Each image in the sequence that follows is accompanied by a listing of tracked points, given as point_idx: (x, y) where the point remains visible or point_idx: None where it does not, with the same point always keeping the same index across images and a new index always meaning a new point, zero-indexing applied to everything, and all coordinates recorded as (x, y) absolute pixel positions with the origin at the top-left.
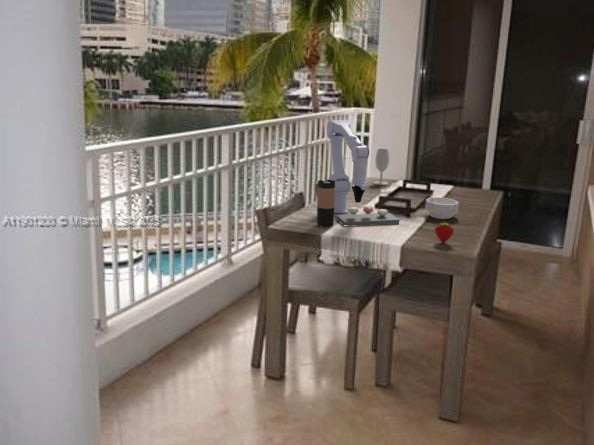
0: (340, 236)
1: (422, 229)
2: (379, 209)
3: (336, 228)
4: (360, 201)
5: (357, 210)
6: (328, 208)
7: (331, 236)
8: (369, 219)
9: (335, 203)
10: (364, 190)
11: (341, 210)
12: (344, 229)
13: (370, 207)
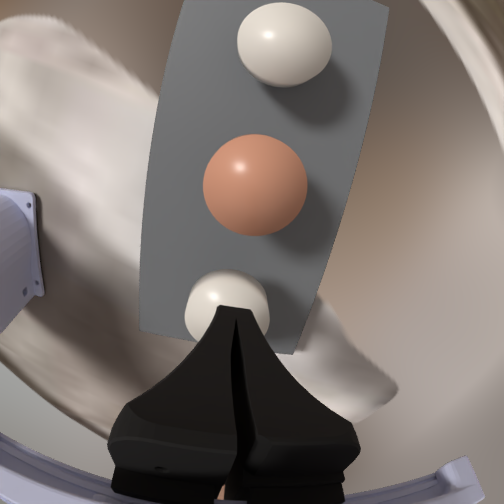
0: (393, 386)
1: (482, 14)
2: (241, 46)
3: (302, 374)
4: (253, 316)
5: (266, 300)
6: None
7: (374, 406)
8: (311, 191)
9: (4, 293)
10: (334, 420)
11: (26, 240)
12: (333, 353)
13: (258, 161)
